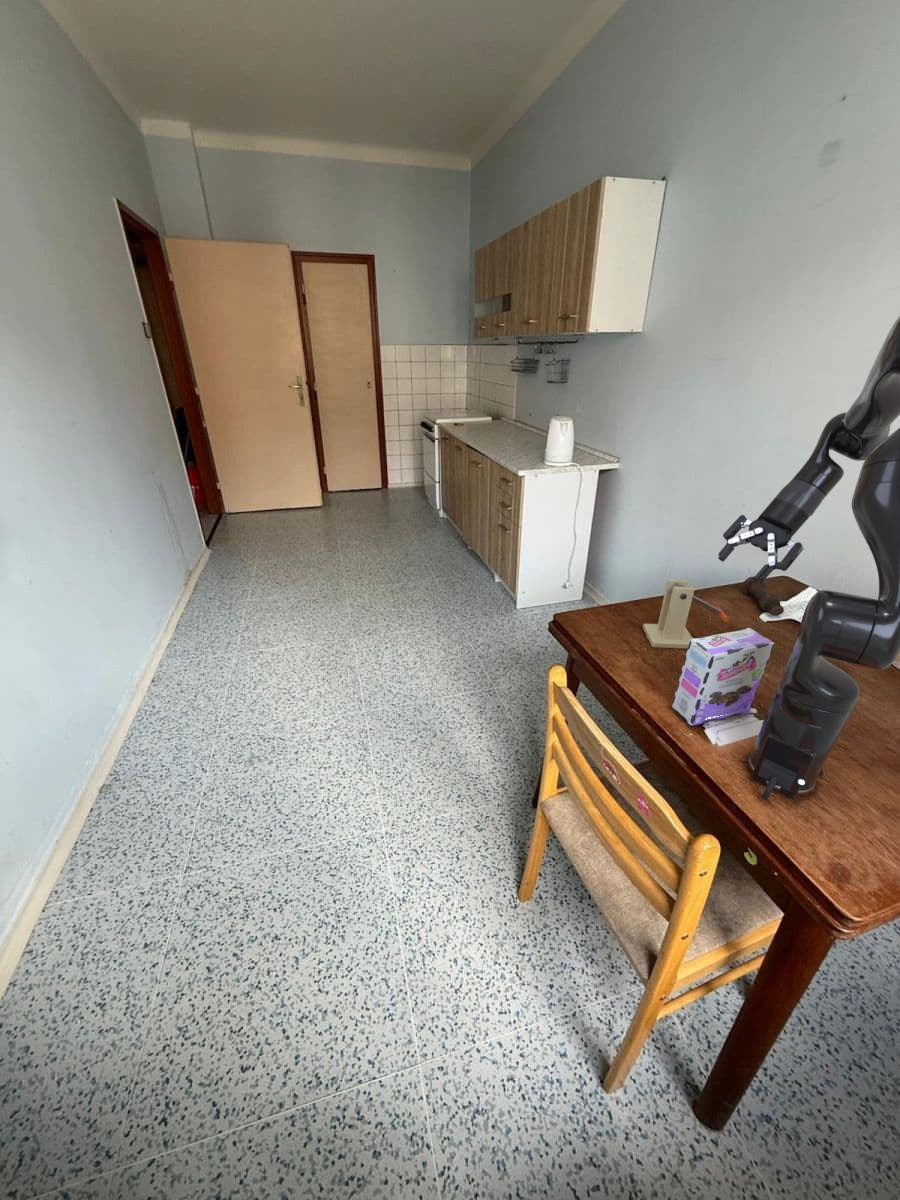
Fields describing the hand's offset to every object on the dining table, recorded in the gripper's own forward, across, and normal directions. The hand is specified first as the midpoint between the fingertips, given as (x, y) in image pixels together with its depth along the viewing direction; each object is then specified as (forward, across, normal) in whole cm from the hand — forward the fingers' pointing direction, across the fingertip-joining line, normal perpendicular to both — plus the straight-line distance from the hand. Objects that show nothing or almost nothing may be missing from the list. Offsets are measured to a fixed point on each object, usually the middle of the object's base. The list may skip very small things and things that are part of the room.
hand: (737, 570), depth 103 cm
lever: (+11, -3, +4) cm, 12 cm away
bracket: (+21, -4, +6) cm, 22 cm away
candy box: (+26, +17, -9) cm, 32 cm away
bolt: (+2, -2, +36) cm, 36 cm away
